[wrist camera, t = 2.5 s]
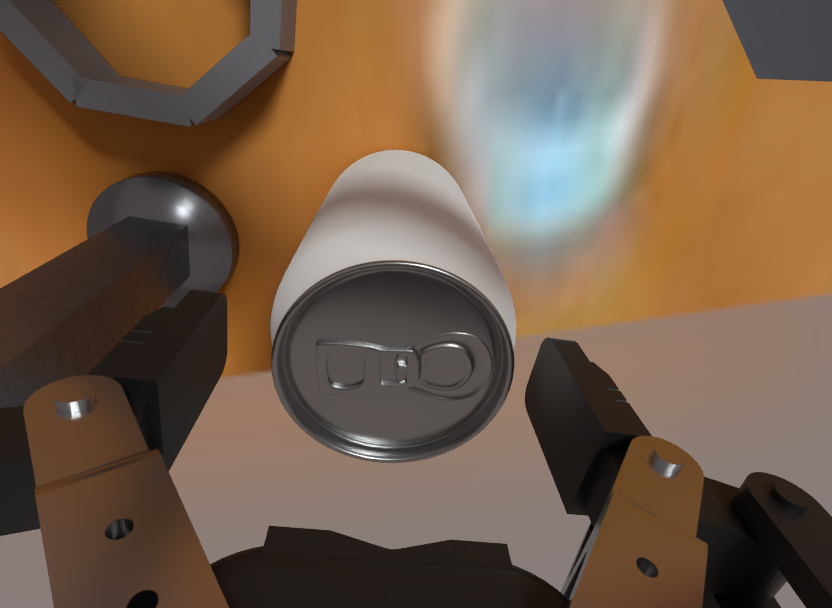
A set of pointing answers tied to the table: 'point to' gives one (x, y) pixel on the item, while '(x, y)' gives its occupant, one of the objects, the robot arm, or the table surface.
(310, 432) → the can
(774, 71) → the swing arm
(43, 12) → the collar
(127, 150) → the table surface
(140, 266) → the dark grey piece
